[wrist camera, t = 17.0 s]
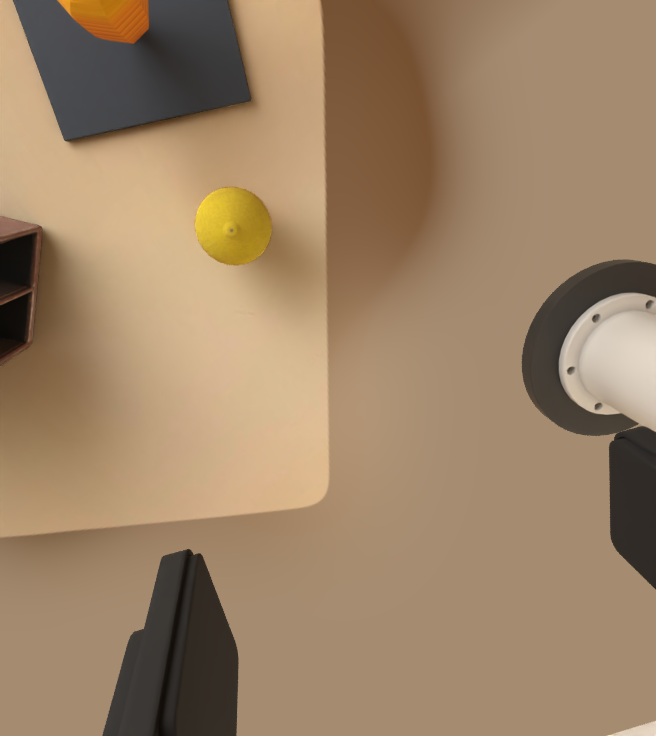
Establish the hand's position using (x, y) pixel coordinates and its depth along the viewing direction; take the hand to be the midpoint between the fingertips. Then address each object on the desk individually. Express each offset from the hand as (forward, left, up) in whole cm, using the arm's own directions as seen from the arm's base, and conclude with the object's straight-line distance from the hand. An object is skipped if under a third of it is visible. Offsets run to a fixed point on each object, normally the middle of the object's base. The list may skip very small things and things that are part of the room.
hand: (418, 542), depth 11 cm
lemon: (+4, -6, -34) cm, 35 cm away
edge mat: (+7, -20, -34) cm, 40 cm away
